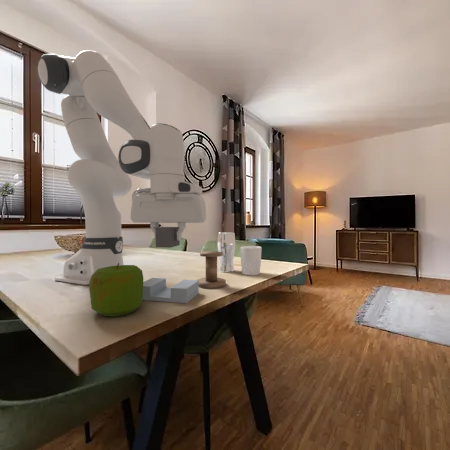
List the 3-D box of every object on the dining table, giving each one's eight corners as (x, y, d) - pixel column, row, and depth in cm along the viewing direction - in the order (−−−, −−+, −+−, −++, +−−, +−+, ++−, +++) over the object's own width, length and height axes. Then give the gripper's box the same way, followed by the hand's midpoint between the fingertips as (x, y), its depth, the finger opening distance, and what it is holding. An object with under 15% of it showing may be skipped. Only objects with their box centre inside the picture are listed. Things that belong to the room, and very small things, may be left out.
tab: (155, 247, 67) (155, 227, 66) (166, 244, 72) (165, 226, 72) (170, 247, 66) (170, 227, 66) (179, 245, 72) (179, 226, 71)
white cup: (260, 276, 93) (260, 248, 93) (238, 275, 95) (238, 247, 94) (262, 271, 101) (262, 246, 101) (241, 271, 102) (241, 245, 102)
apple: (133, 300, 66) (132, 257, 66) (152, 312, 58) (152, 262, 57) (84, 310, 58) (83, 262, 58) (98, 325, 50) (97, 269, 50)
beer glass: (224, 268, 108) (224, 232, 107) (238, 270, 104) (238, 232, 103) (213, 271, 102) (213, 232, 102) (228, 273, 98) (228, 233, 98)
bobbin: (192, 287, 78) (192, 254, 78) (201, 280, 87) (201, 250, 86) (222, 289, 76) (222, 255, 76) (228, 281, 85) (228, 251, 85)
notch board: (135, 299, 67) (134, 285, 66) (152, 289, 75) (152, 277, 75) (186, 303, 64) (186, 288, 63) (198, 292, 72) (198, 280, 72)
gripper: (125, 187, 68) (125, 240, 68) (200, 185, 63) (200, 241, 64) (138, 189, 74) (138, 238, 74) (207, 188, 70) (208, 239, 70)
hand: (168, 240), depth 69 cm, fingers closed on tab, 4 cm apart
